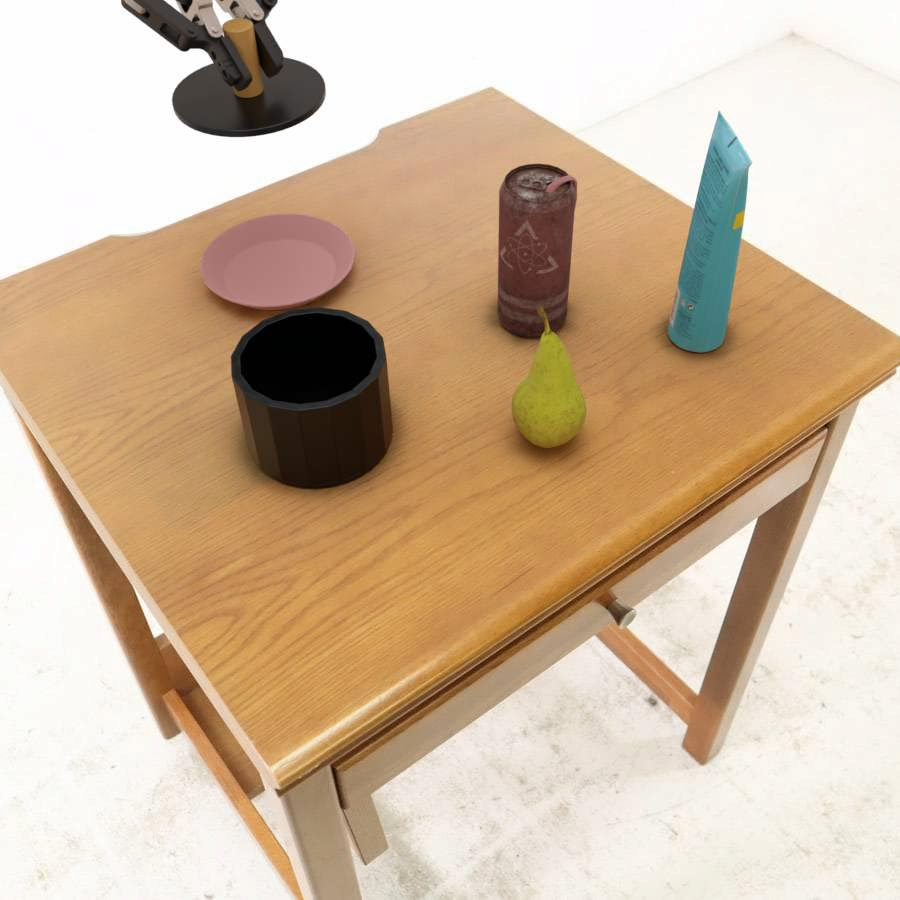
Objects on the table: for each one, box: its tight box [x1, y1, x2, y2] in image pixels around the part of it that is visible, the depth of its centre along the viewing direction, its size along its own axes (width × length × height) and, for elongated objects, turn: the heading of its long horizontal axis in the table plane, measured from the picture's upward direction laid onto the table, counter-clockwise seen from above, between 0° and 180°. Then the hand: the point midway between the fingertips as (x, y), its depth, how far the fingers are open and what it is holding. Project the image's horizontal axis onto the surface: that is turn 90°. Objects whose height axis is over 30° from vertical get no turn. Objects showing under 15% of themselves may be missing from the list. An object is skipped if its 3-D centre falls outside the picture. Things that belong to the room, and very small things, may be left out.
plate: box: [199, 213, 356, 311], centre depth 99 cm, size 14×14×2 cm
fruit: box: [511, 306, 587, 449], centre depth 80 cm, size 6×6×12 cm
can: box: [497, 163, 578, 339], centre depth 89 cm, size 6×6×14 cm
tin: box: [230, 306, 394, 490], centre depth 82 cm, size 11×11×8 cm
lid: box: [171, 18, 327, 138], centre depth 85 cm, size 12×12×7 cm
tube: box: [667, 110, 753, 353], centre depth 85 cm, size 7×5×19 cm, turn 13°
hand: (261, 78), depth 84 cm, fingers closed on lid, 2 cm apart
